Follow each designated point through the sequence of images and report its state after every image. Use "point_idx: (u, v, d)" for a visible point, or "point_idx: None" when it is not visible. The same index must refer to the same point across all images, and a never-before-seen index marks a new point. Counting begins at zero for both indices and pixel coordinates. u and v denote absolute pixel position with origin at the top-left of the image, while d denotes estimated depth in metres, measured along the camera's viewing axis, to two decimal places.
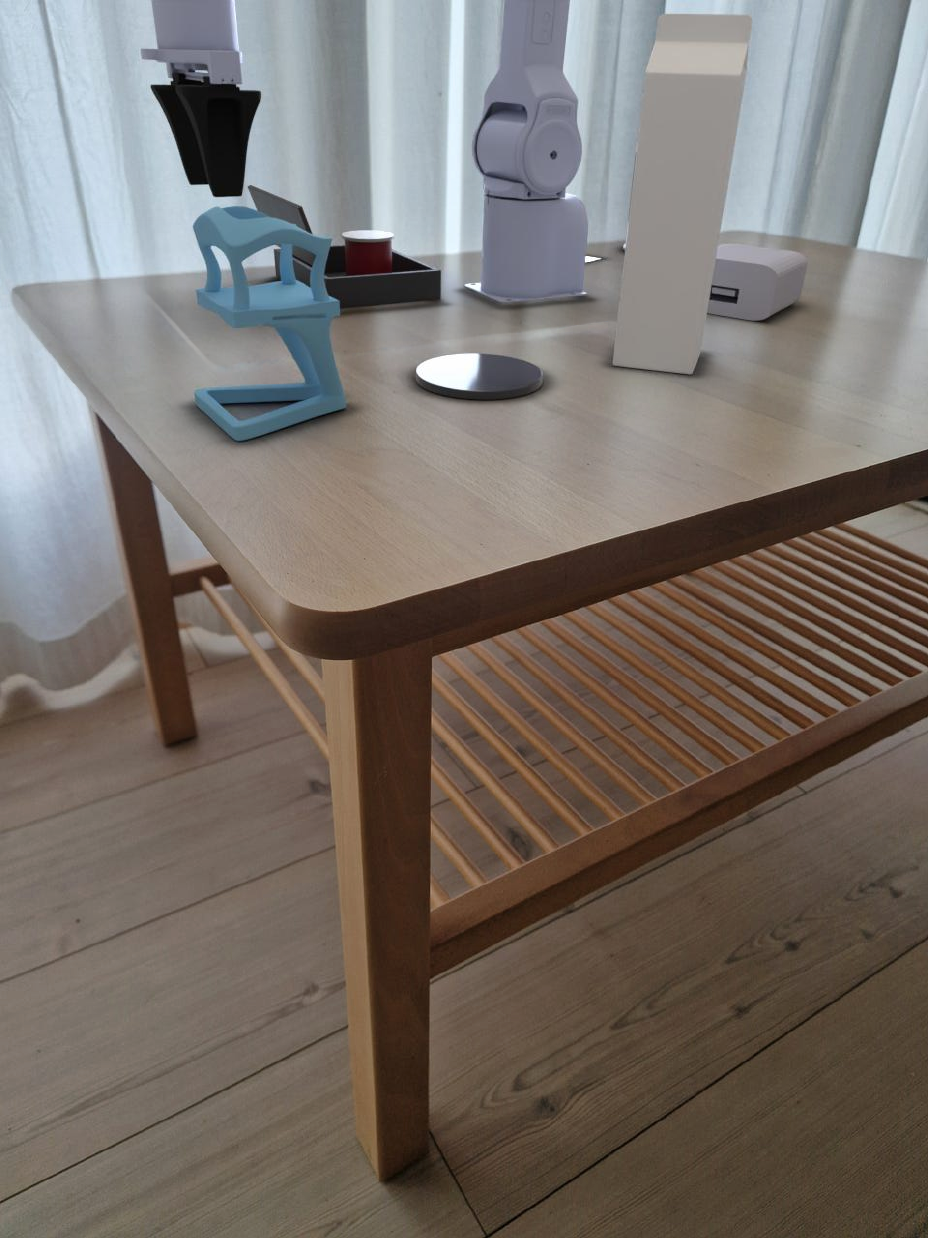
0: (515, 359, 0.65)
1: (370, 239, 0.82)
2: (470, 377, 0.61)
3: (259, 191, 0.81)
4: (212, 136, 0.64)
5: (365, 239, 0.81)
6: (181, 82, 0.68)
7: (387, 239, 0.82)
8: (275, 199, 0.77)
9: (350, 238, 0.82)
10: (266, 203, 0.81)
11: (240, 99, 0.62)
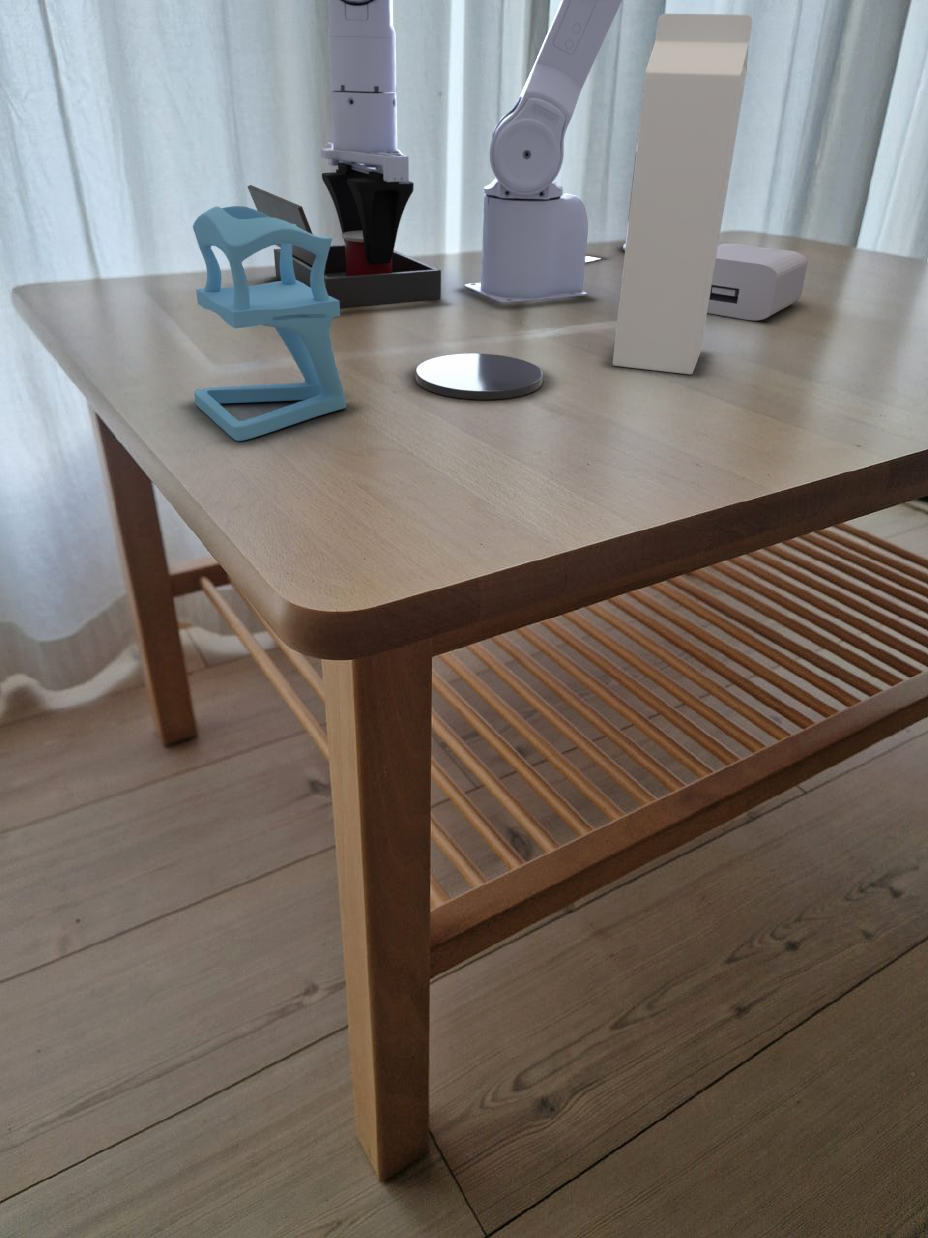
0: (515, 359, 0.65)
1: None
2: (470, 377, 0.61)
3: (259, 191, 0.81)
4: (373, 217, 0.80)
5: None
6: (348, 172, 0.82)
7: None
8: (275, 199, 0.77)
9: (350, 238, 0.82)
10: (266, 203, 0.81)
11: (398, 190, 0.78)
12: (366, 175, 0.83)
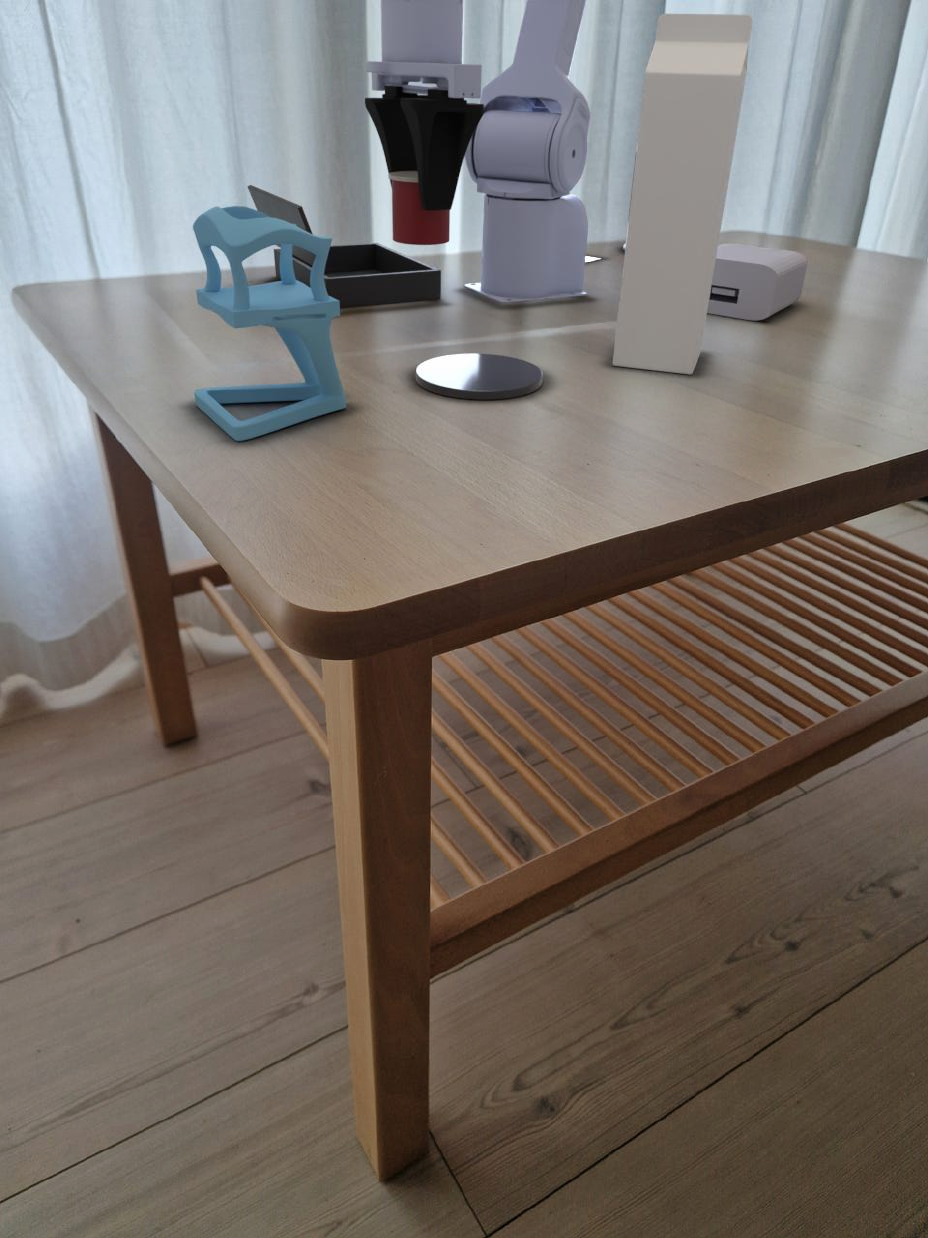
0: (515, 359, 0.65)
1: None
2: (470, 377, 0.61)
3: (259, 191, 0.81)
4: (431, 149, 0.63)
5: None
6: (398, 95, 0.66)
7: None
8: (275, 199, 0.77)
9: (400, 177, 0.65)
10: (266, 203, 0.81)
11: (465, 112, 0.61)
12: None
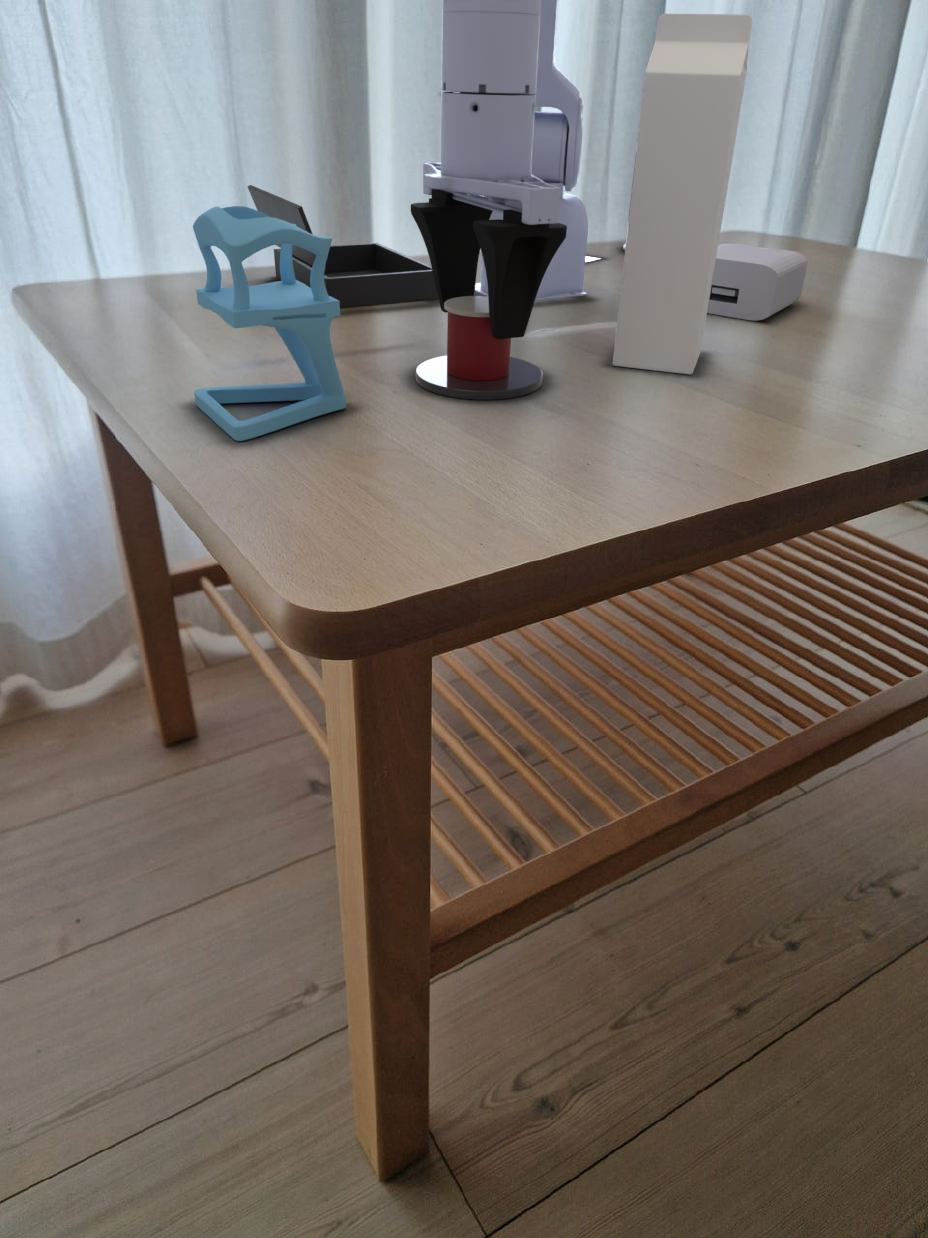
0: (515, 359, 0.65)
1: (487, 313, 0.58)
2: None
3: (259, 191, 0.81)
4: (505, 275, 0.55)
5: (480, 313, 0.58)
6: (448, 203, 0.60)
7: None
8: (275, 199, 0.77)
9: (458, 311, 0.59)
10: (266, 203, 0.81)
11: (547, 236, 0.54)
12: (472, 206, 0.61)
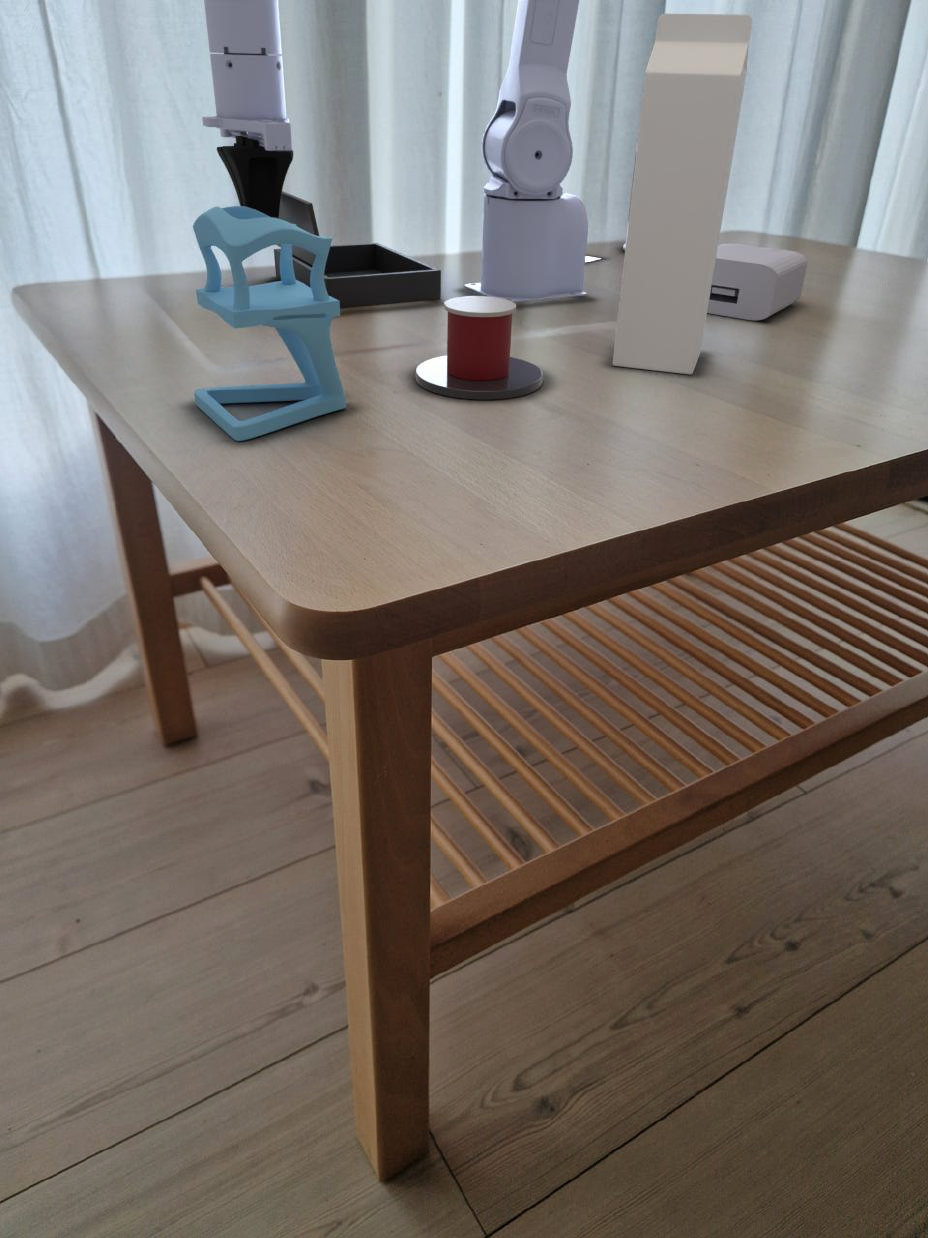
0: (515, 359, 0.65)
1: (487, 313, 0.58)
2: None
3: None
4: (252, 187, 0.76)
5: (480, 313, 0.58)
6: (245, 145, 0.75)
7: (509, 312, 0.59)
8: (284, 195, 0.77)
9: (458, 311, 0.59)
10: None
11: (276, 157, 0.74)
12: None
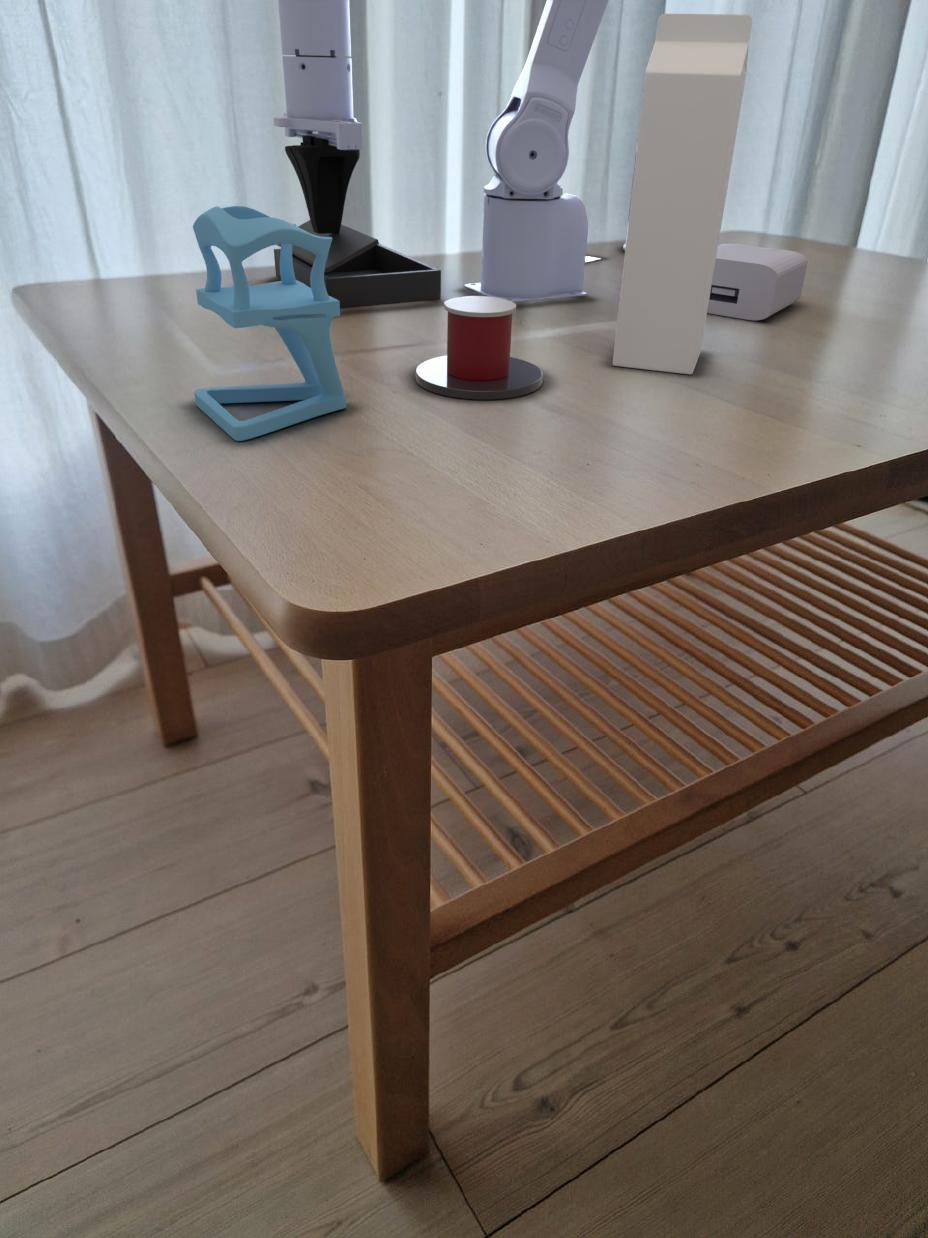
0: (515, 359, 0.65)
1: (487, 313, 0.58)
2: None
3: None
4: (319, 185, 0.79)
5: (480, 313, 0.58)
6: (313, 144, 0.78)
7: (509, 312, 0.59)
8: (350, 228, 0.81)
9: (458, 311, 0.59)
10: None
11: (344, 156, 0.77)
12: None
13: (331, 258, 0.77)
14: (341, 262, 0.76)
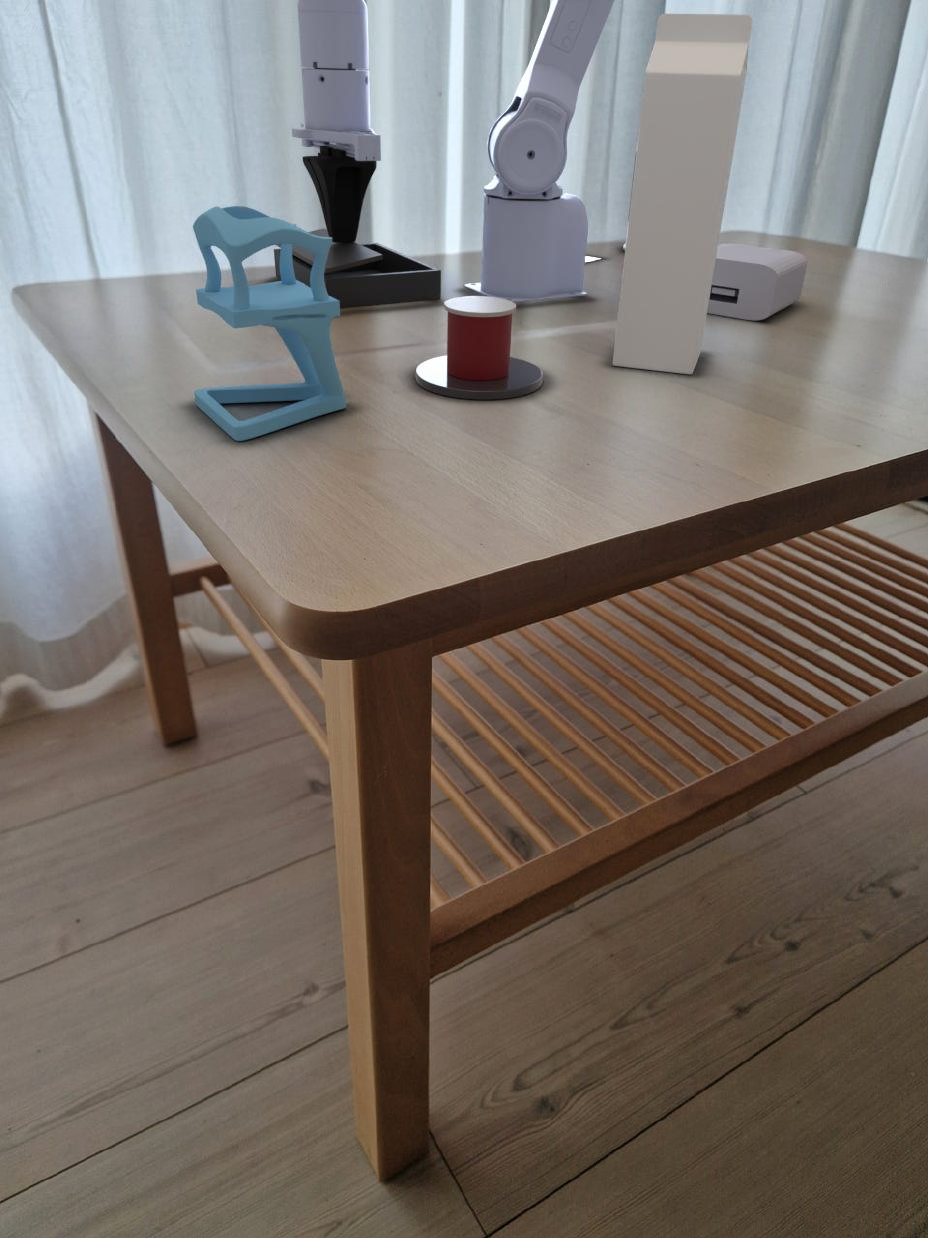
0: (515, 359, 0.65)
1: (487, 313, 0.58)
2: None
3: None
4: (336, 195, 0.80)
5: (480, 313, 0.58)
6: (330, 155, 0.79)
7: (509, 312, 0.59)
8: None
9: (458, 311, 0.59)
10: None
11: (361, 167, 0.78)
12: None
13: (333, 262, 0.77)
14: (342, 267, 0.76)
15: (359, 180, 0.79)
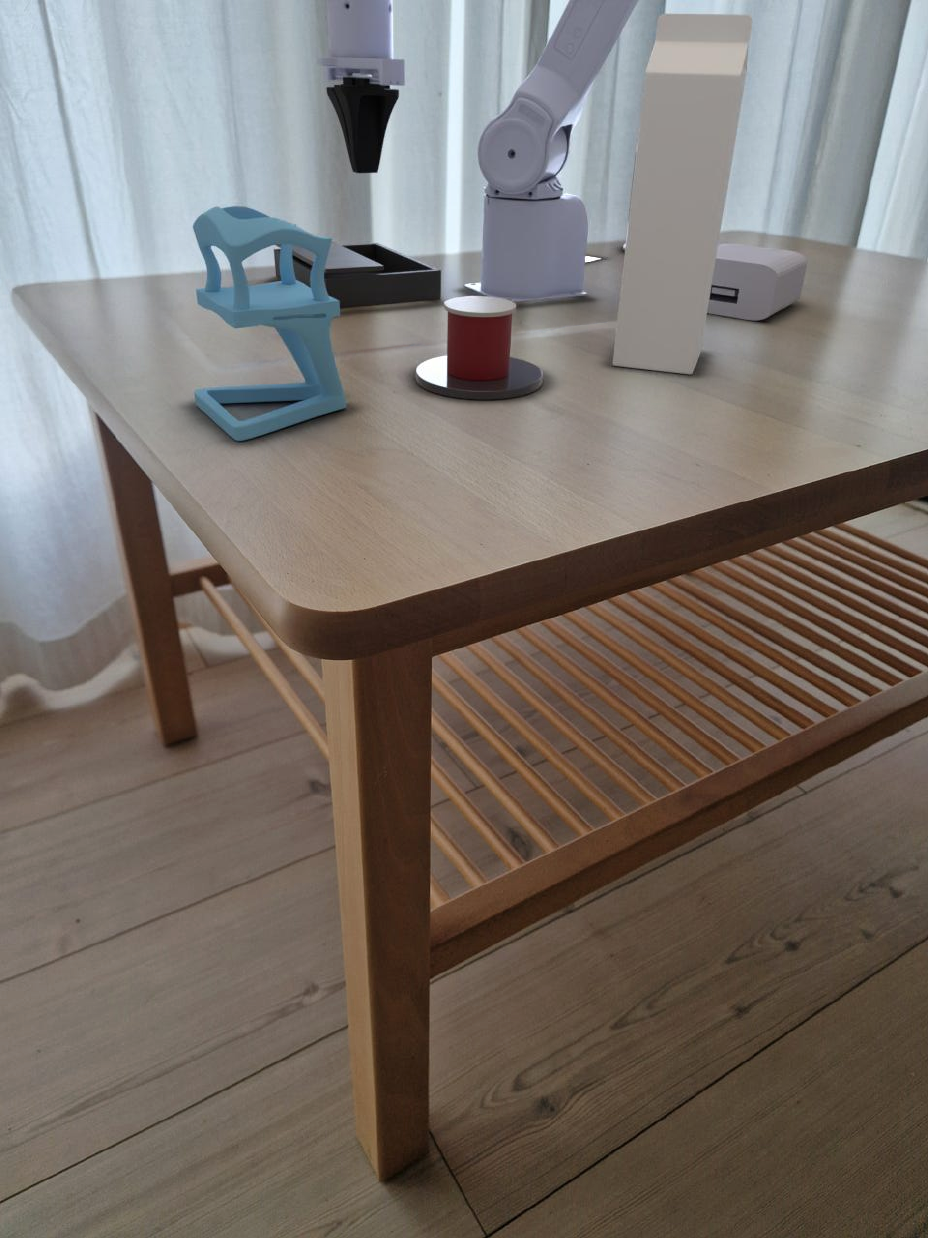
0: (515, 359, 0.65)
1: (487, 313, 0.58)
2: None
3: None
4: (359, 125, 0.81)
5: (480, 313, 0.58)
6: (353, 85, 0.81)
7: (509, 312, 0.59)
8: (356, 253, 0.83)
9: (458, 311, 0.59)
10: (333, 246, 0.85)
11: (384, 96, 0.80)
12: None
13: (333, 264, 0.77)
14: (343, 270, 0.77)
15: (382, 109, 0.81)
